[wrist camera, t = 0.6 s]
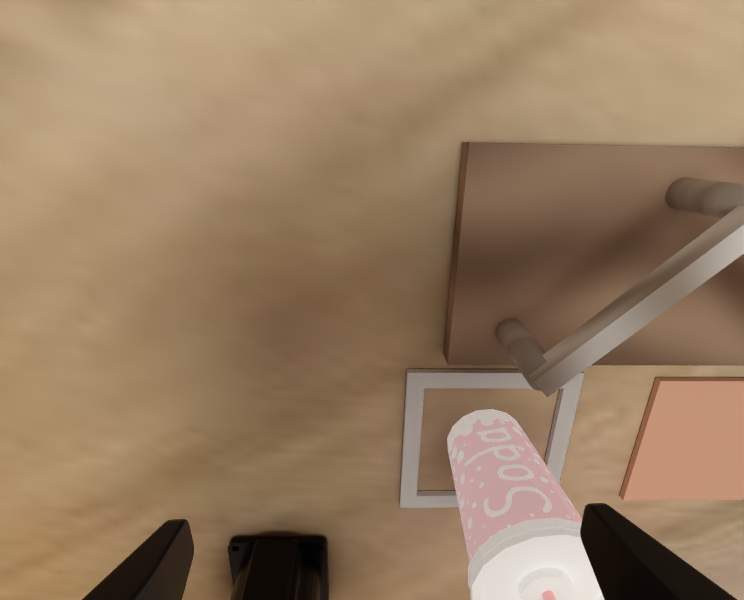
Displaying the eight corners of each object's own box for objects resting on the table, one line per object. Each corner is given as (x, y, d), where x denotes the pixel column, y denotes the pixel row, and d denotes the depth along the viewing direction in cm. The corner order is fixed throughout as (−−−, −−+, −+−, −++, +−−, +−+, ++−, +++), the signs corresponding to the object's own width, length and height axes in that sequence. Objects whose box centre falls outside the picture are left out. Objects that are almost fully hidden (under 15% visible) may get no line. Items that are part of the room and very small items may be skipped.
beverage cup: (545, 401, 24) (758, 704, 11) (521, 481, 27) (676, 812, 13) (443, 394, 24) (541, 698, 11) (427, 476, 26) (493, 810, 13)
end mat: (752, 494, 27) (757, 499, 27) (619, 495, 27) (623, 500, 27) (806, 377, 24) (813, 381, 24) (655, 377, 24) (660, 380, 24)
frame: (550, 501, 27) (553, 506, 27) (399, 502, 27) (399, 507, 27) (581, 369, 24) (584, 373, 23) (406, 369, 23) (407, 372, 23)
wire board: (791, 354, 24) (928, 423, 18) (443, 353, 23) (470, 423, 17) (880, 150, 20) (1092, 154, 14) (462, 142, 19) (506, 143, 13)
